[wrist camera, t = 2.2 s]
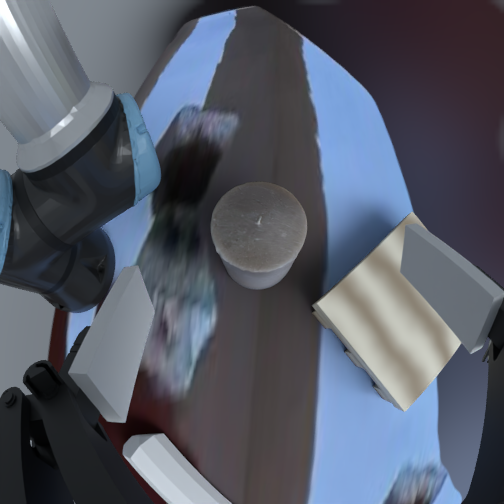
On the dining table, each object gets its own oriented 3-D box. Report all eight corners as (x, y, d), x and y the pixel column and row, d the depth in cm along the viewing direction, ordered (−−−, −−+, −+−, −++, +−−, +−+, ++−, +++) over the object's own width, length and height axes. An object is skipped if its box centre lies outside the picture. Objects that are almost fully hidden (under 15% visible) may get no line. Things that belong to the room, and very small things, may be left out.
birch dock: (386, 403, 35) (404, 411, 29) (307, 307, 39) (316, 303, 33) (460, 314, 38) (482, 310, 32) (395, 225, 42) (412, 211, 37)
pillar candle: (253, 212, 43) (251, 157, 28) (305, 253, 41) (330, 213, 27) (209, 261, 41) (185, 225, 26) (262, 305, 39) (266, 292, 25)
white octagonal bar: (264, 528, 26) (156, 422, 31) (230, 554, 22) (115, 448, 27) (245, 516, 32) (152, 421, 37) (215, 539, 27) (117, 442, 32)
